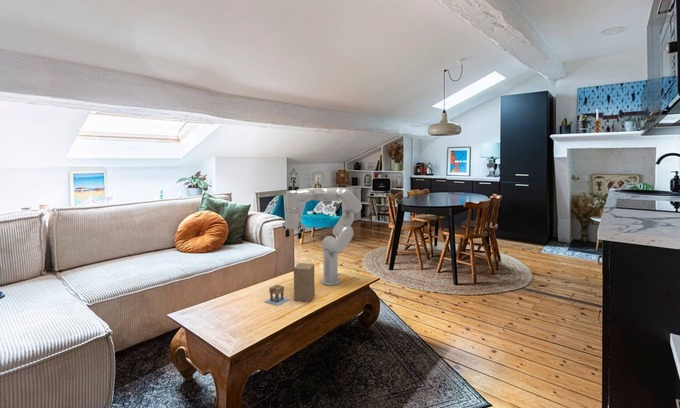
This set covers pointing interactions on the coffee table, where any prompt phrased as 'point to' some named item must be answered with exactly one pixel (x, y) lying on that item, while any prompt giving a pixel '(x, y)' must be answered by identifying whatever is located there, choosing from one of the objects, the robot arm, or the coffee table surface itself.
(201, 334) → the coffee table surface
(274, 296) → the mat
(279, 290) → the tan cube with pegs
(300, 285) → the wooden block
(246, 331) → the coffee table surface
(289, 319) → the coffee table surface
